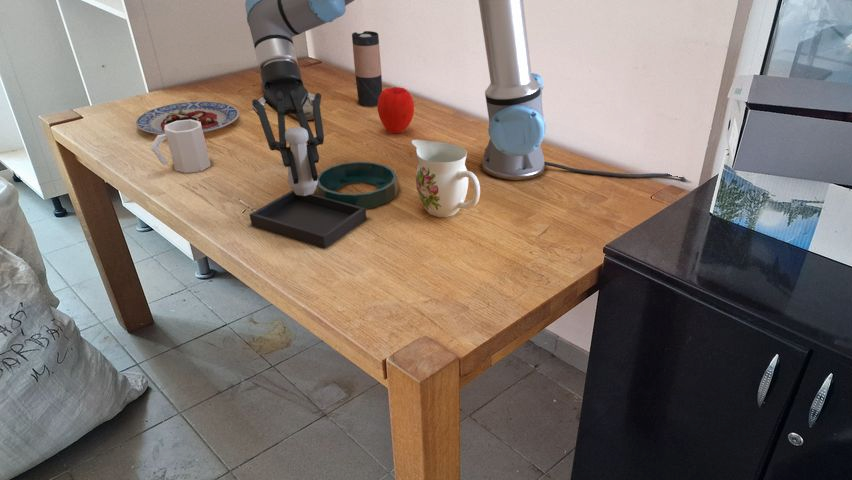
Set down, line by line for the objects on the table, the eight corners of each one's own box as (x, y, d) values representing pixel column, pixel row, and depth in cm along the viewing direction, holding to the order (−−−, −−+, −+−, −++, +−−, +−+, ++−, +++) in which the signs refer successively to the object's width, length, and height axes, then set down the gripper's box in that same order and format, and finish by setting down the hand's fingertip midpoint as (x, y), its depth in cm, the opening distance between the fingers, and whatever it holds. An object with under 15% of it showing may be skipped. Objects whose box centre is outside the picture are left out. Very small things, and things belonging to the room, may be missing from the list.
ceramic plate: (252, 130, 175) (250, 120, 174) (148, 149, 163) (145, 138, 161) (226, 103, 193) (224, 93, 191) (130, 118, 181) (127, 107, 179)
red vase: (405, 140, 173) (403, 95, 166) (372, 135, 176) (368, 90, 169) (421, 128, 181) (419, 84, 174) (389, 123, 184) (386, 79, 177)
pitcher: (461, 234, 132) (461, 171, 125) (398, 207, 141) (394, 147, 134) (494, 214, 140) (496, 154, 132) (432, 190, 149) (430, 132, 141)
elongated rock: (293, 129, 181) (327, 124, 186) (291, 110, 178) (326, 106, 183) (253, 87, 204) (285, 85, 209) (251, 71, 201) (283, 68, 206)
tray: (366, 219, 136) (365, 208, 135) (325, 248, 126) (323, 236, 125) (296, 199, 143) (294, 188, 141) (251, 225, 133) (249, 214, 131)
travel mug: (378, 108, 194) (373, 38, 183) (353, 105, 195) (347, 36, 184) (387, 100, 200) (382, 32, 189) (363, 97, 201) (357, 30, 190)
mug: (202, 155, 161) (193, 117, 155) (217, 166, 156) (208, 127, 150) (152, 168, 154) (140, 128, 148) (165, 180, 149) (154, 139, 143)
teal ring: (412, 185, 151) (411, 171, 149) (367, 216, 137) (365, 201, 135) (349, 169, 157) (348, 156, 155) (301, 198, 143) (298, 183, 141)
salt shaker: (292, 199, 127) (282, 136, 120) (286, 187, 132) (276, 126, 124) (322, 194, 130) (314, 132, 122) (315, 183, 134) (307, 122, 127)
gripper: (319, 75, 135) (345, 180, 132) (237, 82, 129) (263, 192, 126) (321, 55, 128) (349, 166, 125) (235, 62, 122) (262, 178, 119)
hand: (305, 179), depth 125 cm, fingers closed on salt shaker, 3 cm apart
